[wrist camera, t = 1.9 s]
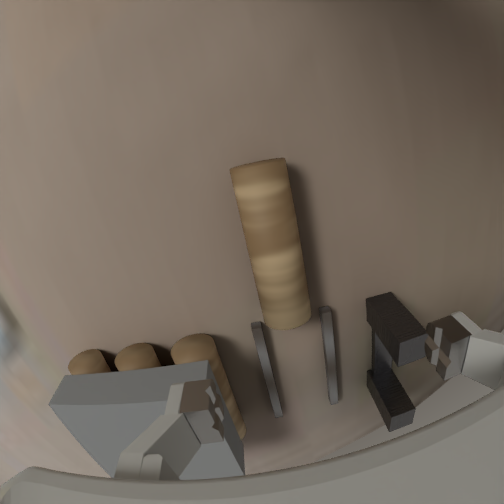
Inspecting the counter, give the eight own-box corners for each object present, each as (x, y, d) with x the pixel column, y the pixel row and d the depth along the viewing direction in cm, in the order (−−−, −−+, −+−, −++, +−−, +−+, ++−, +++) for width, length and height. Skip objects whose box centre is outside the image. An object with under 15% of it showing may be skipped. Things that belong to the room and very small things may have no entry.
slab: (64, 375, 23) (48, 404, 20) (207, 359, 23) (204, 396, 19) (121, 452, 27) (113, 479, 24) (243, 445, 27) (245, 476, 23)
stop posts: (366, 298, 27) (400, 343, 20) (390, 291, 27) (428, 333, 20) (366, 386, 31) (389, 432, 24) (387, 379, 30) (412, 423, 24)
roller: (234, 166, 23) (224, 172, 19) (285, 156, 22) (284, 161, 19) (266, 306, 27) (262, 332, 23) (310, 300, 26) (312, 326, 23)
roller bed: (76, 350, 27) (62, 374, 23) (328, 305, 27) (340, 329, 23) (125, 427, 31) (118, 450, 28) (335, 396, 31) (345, 421, 27)
